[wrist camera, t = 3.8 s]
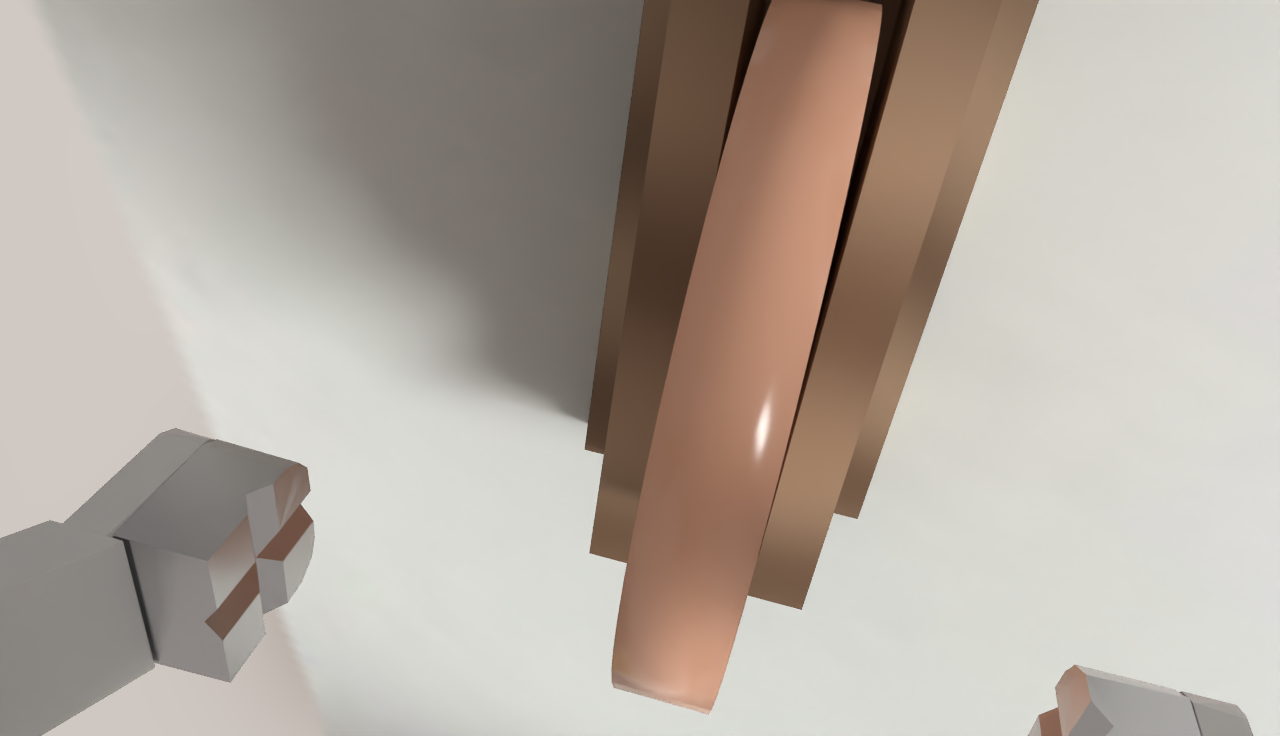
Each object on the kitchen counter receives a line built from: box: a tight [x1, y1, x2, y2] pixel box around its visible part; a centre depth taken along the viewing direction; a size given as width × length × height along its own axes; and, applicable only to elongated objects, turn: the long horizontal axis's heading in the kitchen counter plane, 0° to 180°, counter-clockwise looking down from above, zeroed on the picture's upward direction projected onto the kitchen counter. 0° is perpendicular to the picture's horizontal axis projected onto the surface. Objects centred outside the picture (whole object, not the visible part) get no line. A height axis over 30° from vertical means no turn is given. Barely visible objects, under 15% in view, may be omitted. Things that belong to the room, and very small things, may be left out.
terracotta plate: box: [612, 0, 882, 714], centre depth 16 cm, size 11×1×11 cm, turn 172°
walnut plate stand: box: [585, 0, 1039, 610], centre depth 19 cm, size 14×7×4 cm, turn 172°
